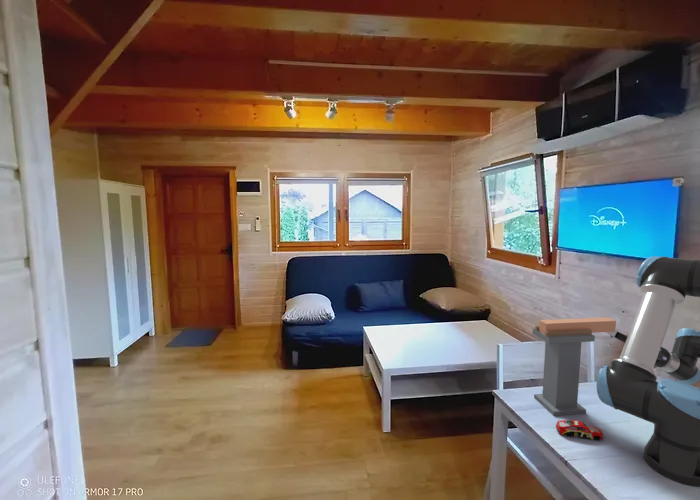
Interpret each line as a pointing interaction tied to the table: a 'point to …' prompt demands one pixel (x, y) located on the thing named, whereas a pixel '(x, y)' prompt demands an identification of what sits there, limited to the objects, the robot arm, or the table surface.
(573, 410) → the stand
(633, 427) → the table surface
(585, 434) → the race car
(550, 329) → the bar
